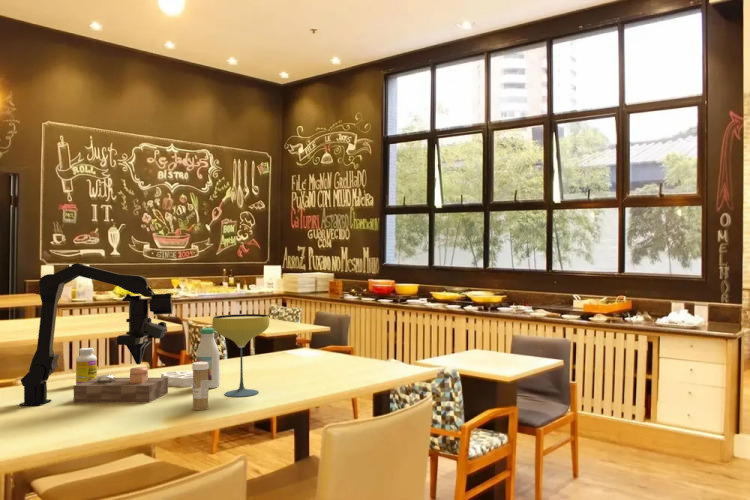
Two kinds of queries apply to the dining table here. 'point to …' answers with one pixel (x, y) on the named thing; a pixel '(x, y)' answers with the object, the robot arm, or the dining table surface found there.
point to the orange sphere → (138, 375)
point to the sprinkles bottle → (200, 385)
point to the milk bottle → (209, 356)
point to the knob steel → (105, 379)
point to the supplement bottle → (86, 365)
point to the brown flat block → (120, 390)
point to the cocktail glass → (240, 338)
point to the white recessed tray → (179, 378)
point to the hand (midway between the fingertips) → (138, 364)
